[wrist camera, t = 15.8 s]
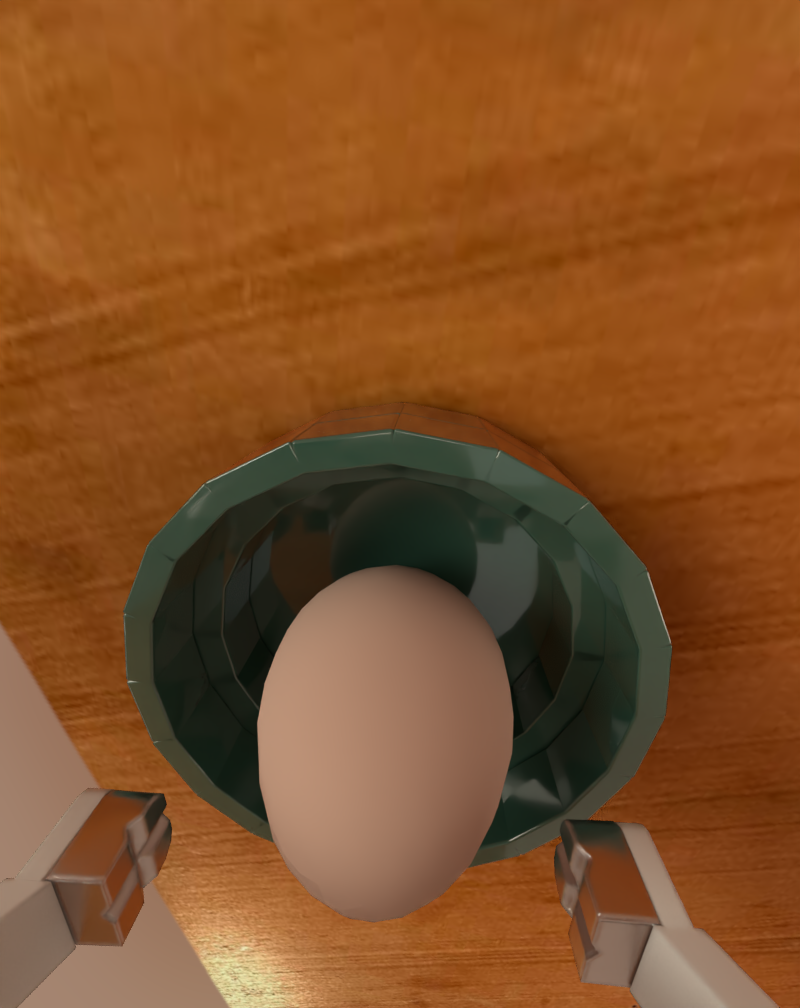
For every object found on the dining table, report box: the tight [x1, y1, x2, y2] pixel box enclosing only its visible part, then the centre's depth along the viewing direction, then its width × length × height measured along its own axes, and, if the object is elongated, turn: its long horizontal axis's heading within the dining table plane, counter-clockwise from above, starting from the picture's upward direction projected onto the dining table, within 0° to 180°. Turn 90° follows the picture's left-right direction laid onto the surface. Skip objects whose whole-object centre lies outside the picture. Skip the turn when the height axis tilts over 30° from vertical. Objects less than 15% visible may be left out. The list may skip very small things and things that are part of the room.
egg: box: [257, 565, 514, 922], centre depth 12 cm, size 7×7×9 cm
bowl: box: [123, 402, 672, 868], centre depth 14 cm, size 15×15×5 cm
